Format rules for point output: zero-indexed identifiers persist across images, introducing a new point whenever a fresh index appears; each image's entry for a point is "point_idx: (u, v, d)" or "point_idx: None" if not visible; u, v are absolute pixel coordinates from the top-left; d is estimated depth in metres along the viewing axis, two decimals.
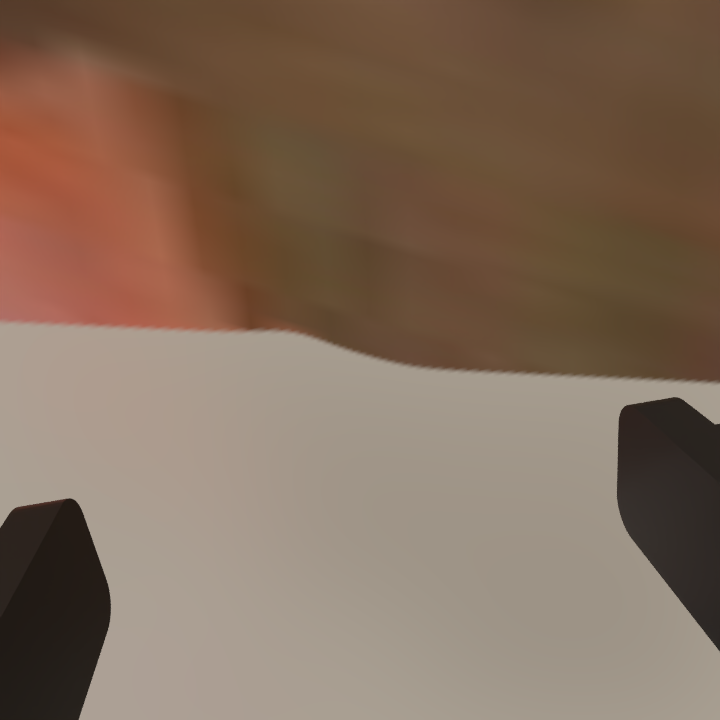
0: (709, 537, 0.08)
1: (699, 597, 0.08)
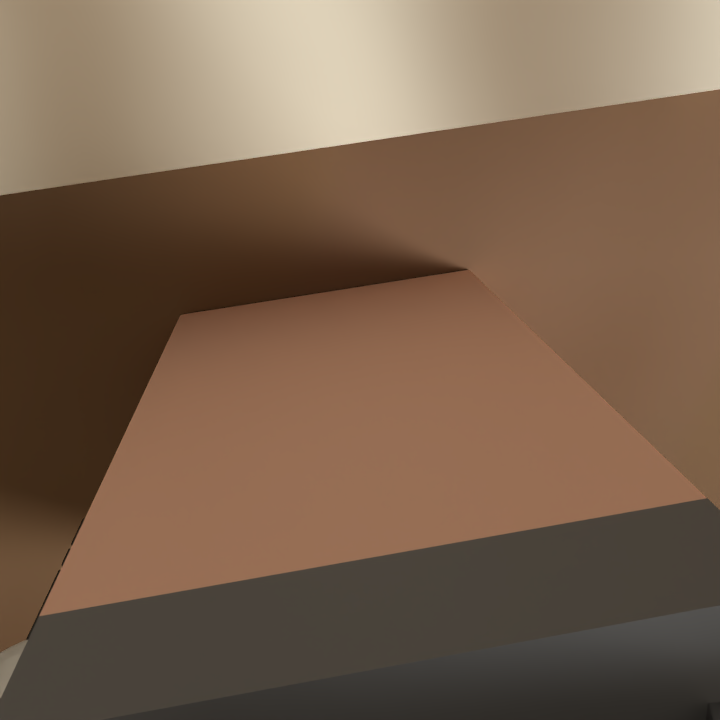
0: None
1: None
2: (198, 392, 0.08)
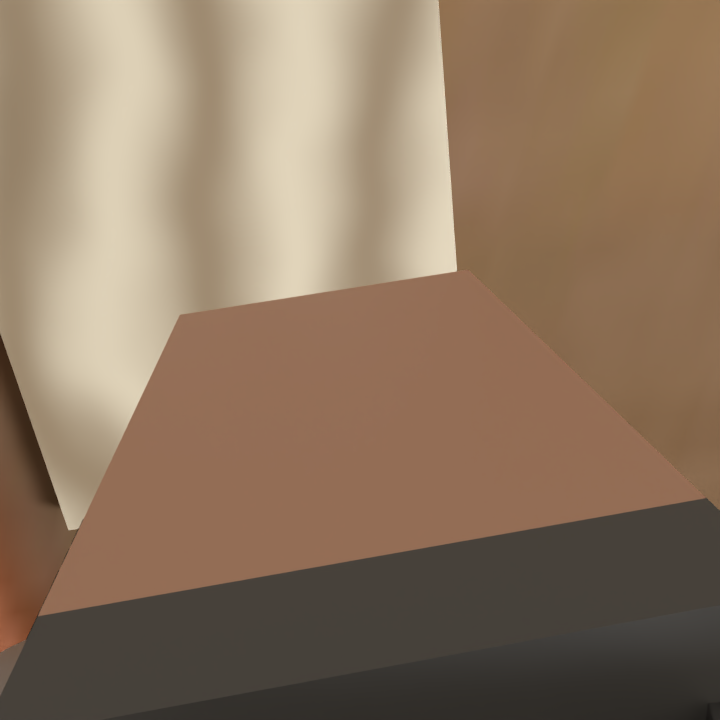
0: None
1: None
2: (197, 392, 0.08)
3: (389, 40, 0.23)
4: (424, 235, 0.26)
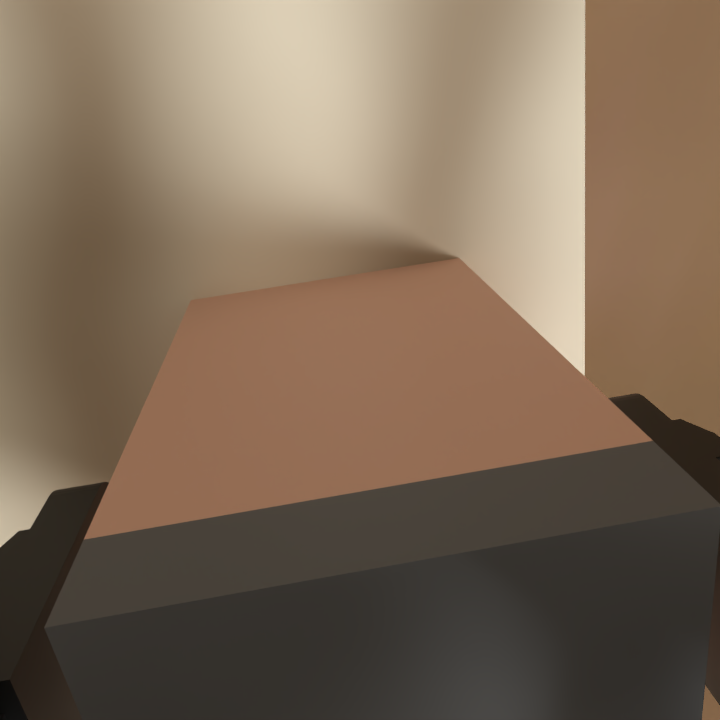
0: None
1: None
2: (210, 365, 0.09)
3: None
4: None
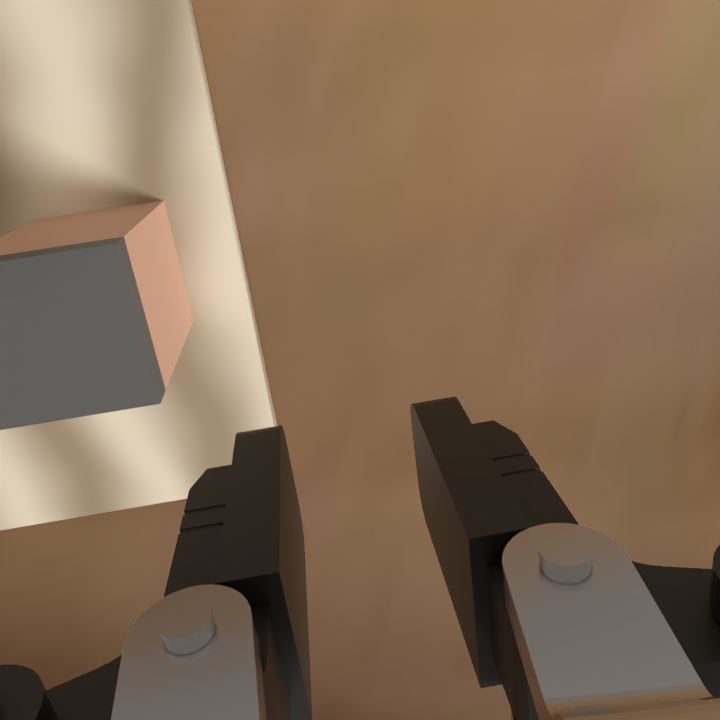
0: (444, 521, 0.09)
1: (449, 576, 0.09)
2: (20, 234, 0.22)
3: (151, 81, 0.24)
4: (210, 264, 0.27)
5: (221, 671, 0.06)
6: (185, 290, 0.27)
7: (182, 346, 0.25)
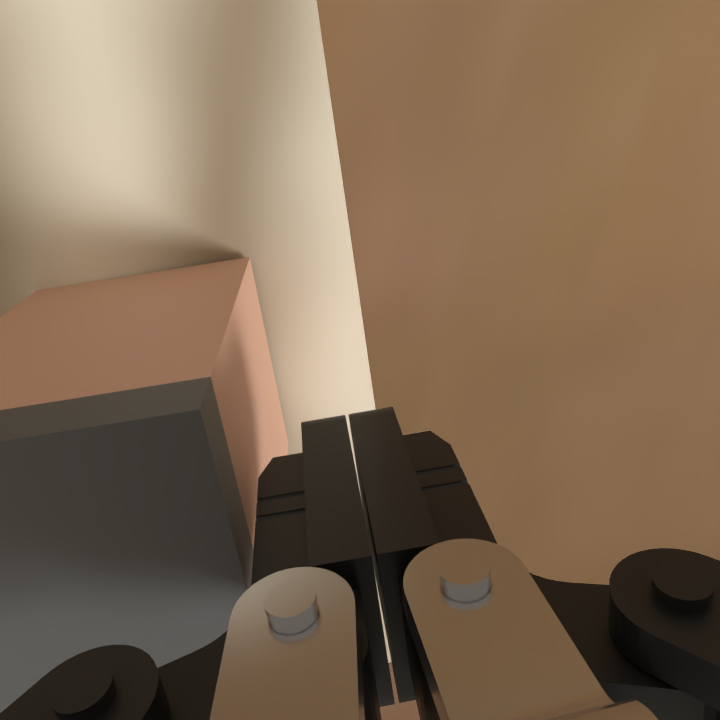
0: (370, 534, 0.09)
1: (378, 587, 0.09)
2: (5, 336, 0.12)
3: (237, 56, 0.14)
4: (320, 354, 0.17)
5: (334, 650, 0.06)
6: (278, 398, 0.17)
7: None
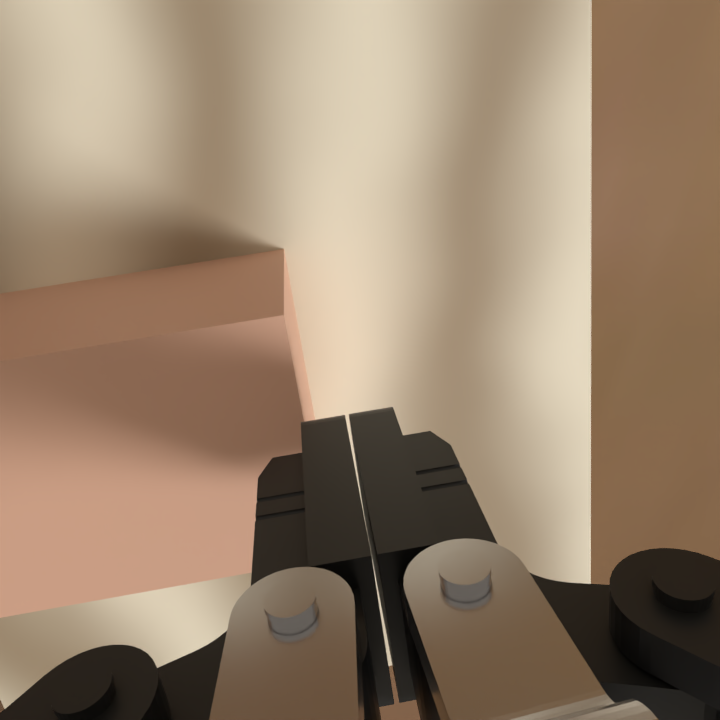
0: (370, 534, 0.09)
1: (378, 588, 0.09)
2: (129, 280, 0.15)
3: (508, 13, 0.14)
4: (546, 317, 0.17)
5: (334, 650, 0.06)
6: None
7: (164, 586, 0.13)
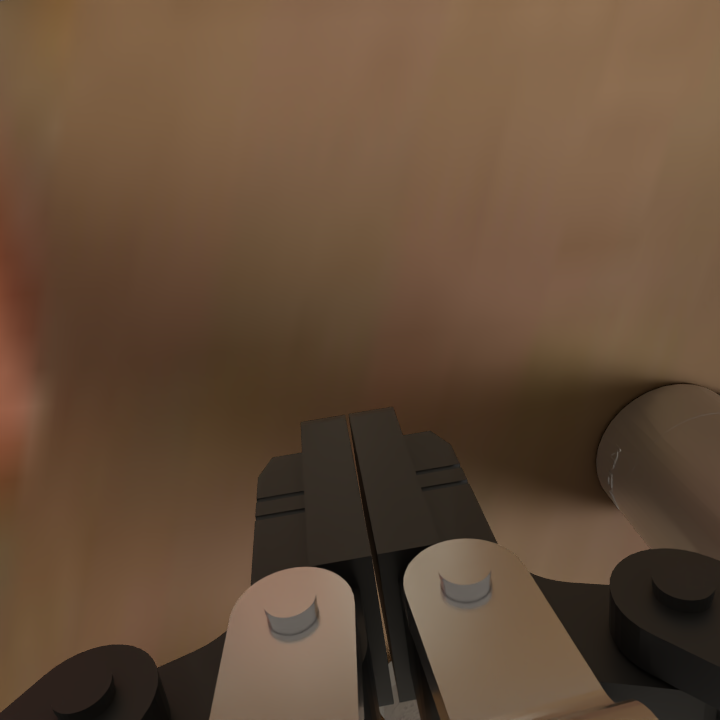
0: (370, 534, 0.09)
1: (378, 588, 0.09)
2: None
3: None
4: None
5: (334, 650, 0.06)
6: None
7: None
